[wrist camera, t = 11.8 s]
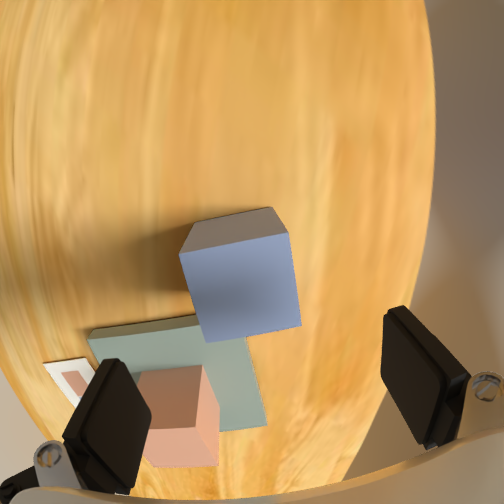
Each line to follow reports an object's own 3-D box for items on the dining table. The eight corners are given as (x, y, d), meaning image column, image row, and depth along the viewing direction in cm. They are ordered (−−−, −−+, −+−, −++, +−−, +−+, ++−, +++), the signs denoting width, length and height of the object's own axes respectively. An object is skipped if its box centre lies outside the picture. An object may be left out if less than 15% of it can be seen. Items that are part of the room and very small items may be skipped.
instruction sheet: (43, 363, 22) (42, 364, 22) (85, 357, 22) (85, 358, 22) (85, 418, 25) (84, 419, 25) (128, 417, 25) (127, 418, 25)
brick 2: (194, 222, 19) (178, 254, 13) (272, 206, 19) (288, 232, 13) (212, 291, 21) (205, 343, 15) (284, 278, 21) (301, 325, 15)
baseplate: (93, 329, 21) (86, 339, 20) (238, 307, 21) (238, 318, 20) (147, 424, 25) (144, 435, 24) (266, 413, 25) (267, 425, 24)
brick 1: (141, 371, 21) (122, 429, 15) (202, 364, 21) (195, 427, 15) (164, 412, 23) (153, 467, 17) (219, 407, 23) (218, 465, 17)
